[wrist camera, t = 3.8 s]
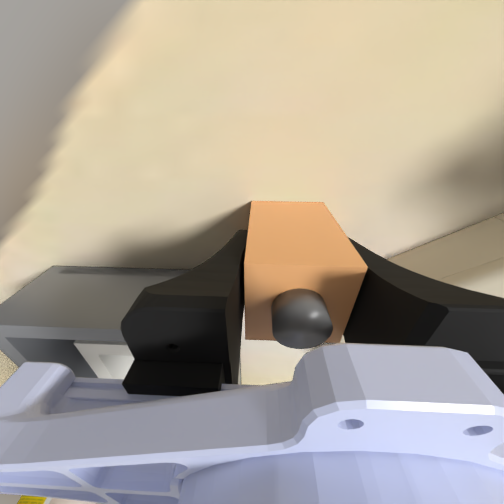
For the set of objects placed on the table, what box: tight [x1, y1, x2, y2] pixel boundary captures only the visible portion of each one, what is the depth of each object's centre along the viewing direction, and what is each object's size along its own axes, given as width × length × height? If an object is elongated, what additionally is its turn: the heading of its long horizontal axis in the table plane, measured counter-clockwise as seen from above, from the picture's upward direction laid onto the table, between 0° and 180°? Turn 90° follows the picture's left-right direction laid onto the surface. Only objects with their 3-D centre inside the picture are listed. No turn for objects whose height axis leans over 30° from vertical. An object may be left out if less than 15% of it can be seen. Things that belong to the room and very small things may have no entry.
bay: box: [0, 266, 241, 385], centre depth 17 cm, size 16×13×5 cm
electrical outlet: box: [335, 213, 504, 344], centre depth 13 cm, size 7×4×18 cm
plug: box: [244, 201, 368, 349], centre depth 10 cm, size 4×4×7 cm
